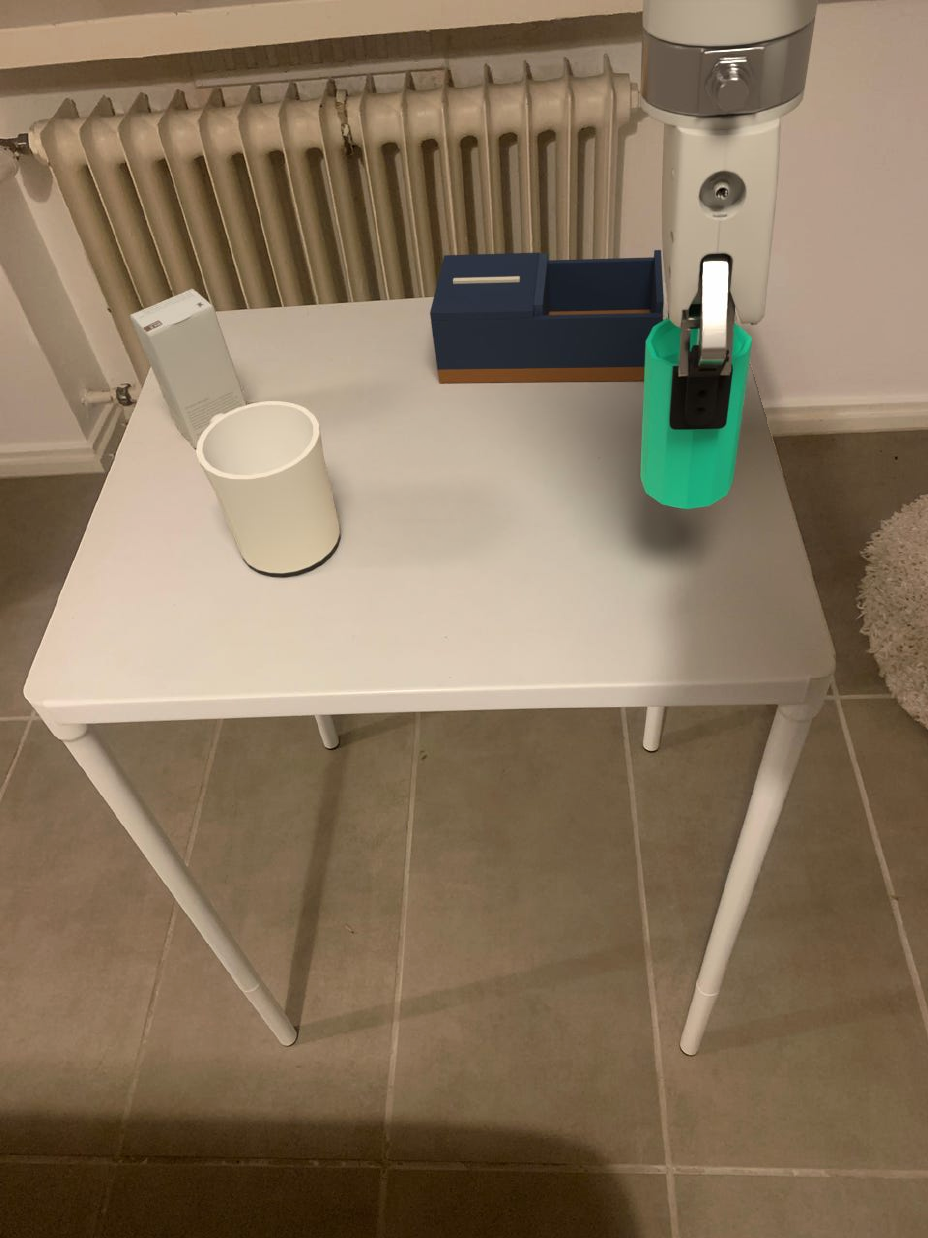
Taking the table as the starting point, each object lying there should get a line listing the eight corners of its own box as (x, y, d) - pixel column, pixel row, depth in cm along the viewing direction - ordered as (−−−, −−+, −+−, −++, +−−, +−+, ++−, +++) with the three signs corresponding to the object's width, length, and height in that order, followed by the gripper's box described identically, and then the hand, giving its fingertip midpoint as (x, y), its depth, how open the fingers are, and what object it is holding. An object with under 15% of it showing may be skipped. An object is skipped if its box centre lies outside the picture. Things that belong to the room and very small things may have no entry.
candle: (734, 510, 59) (758, 344, 50) (638, 508, 60) (645, 345, 51) (732, 450, 63) (753, 285, 54) (641, 449, 64) (648, 288, 55)
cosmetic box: (233, 402, 87) (193, 283, 78) (255, 424, 85) (216, 303, 75) (173, 430, 85) (126, 311, 76) (194, 453, 82) (147, 333, 73)
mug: (369, 537, 73) (344, 432, 66) (280, 600, 70) (243, 497, 62) (286, 479, 79) (255, 376, 71) (200, 534, 75) (157, 433, 68)
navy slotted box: (655, 320, 90) (660, 245, 84) (658, 381, 83) (664, 304, 78) (451, 324, 93) (443, 251, 87) (439, 383, 86) (429, 309, 80)
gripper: (836, 135, 37) (773, 484, 50) (786, -3, 48) (745, 312, 61) (643, 148, 38) (632, 486, 51) (638, 10, 49) (630, 317, 62)
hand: (694, 389), depth 56 cm, fingers closed on candle, 6 cm apart
